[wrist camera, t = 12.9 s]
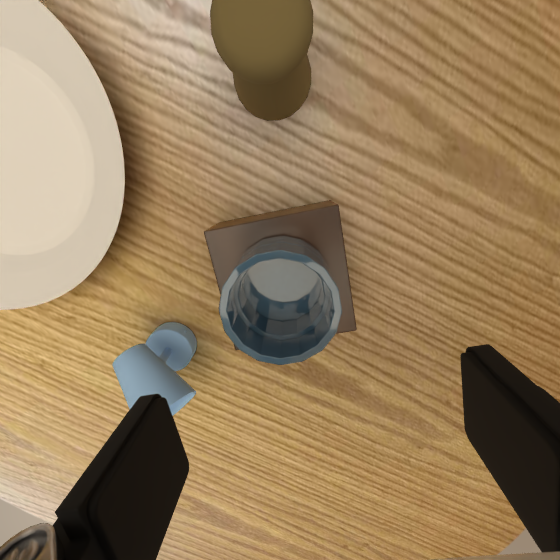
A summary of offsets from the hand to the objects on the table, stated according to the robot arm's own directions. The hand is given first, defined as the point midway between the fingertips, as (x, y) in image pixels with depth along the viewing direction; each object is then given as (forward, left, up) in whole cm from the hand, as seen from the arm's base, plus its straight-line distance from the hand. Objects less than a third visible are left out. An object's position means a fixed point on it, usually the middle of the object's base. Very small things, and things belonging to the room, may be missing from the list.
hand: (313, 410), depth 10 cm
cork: (-1, -15, -21) cm, 25 cm away
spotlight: (+13, +6, -21) cm, 25 cm away
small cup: (+2, 0, -15) cm, 16 cm away
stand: (+1, 0, -20) cm, 20 cm away
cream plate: (+23, -14, -21) cm, 34 cm away
